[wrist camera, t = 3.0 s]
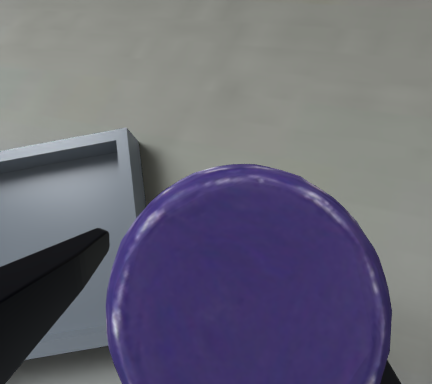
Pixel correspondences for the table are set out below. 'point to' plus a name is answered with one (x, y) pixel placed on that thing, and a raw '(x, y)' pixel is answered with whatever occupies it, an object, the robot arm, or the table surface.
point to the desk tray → (71, 217)
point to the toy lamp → (247, 286)
